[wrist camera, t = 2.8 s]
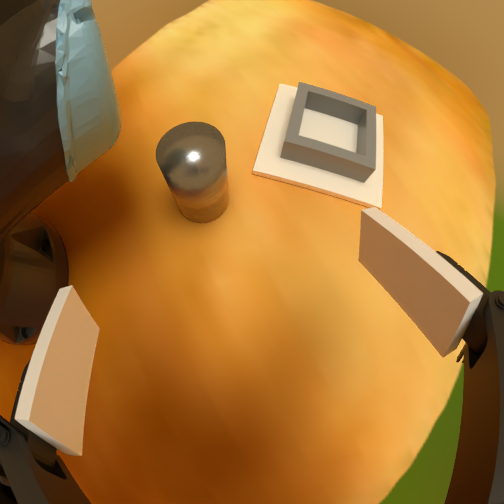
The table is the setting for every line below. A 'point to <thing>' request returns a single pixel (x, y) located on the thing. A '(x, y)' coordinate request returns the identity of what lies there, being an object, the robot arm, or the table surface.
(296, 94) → the square socket
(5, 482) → the canister
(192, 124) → the glossy bronze cylinder
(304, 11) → the table surface
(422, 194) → the table surface
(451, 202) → the table surface
